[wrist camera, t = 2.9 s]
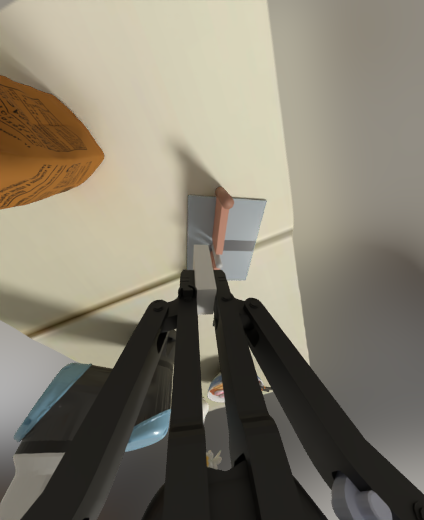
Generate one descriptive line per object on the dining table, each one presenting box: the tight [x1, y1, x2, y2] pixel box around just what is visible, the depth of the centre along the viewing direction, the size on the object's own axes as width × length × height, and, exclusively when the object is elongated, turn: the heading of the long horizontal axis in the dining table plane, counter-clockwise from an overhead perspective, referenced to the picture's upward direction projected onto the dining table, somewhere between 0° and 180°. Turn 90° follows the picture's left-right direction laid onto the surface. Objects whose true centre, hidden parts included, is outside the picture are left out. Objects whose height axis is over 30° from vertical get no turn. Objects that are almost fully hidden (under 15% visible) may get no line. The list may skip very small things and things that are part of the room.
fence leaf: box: [212, 187, 234, 255], centre depth 30 cm, size 2×10×7 cm, turn 175°
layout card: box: [187, 195, 267, 280], centre depth 37 cm, size 15×20×1 cm
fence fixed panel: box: [210, 243, 223, 270], centre depth 37 cm, size 2×12×8 cm, turn 174°
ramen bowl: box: [207, 372, 272, 402], centre depth 69 cm, size 25×23×8 cm
